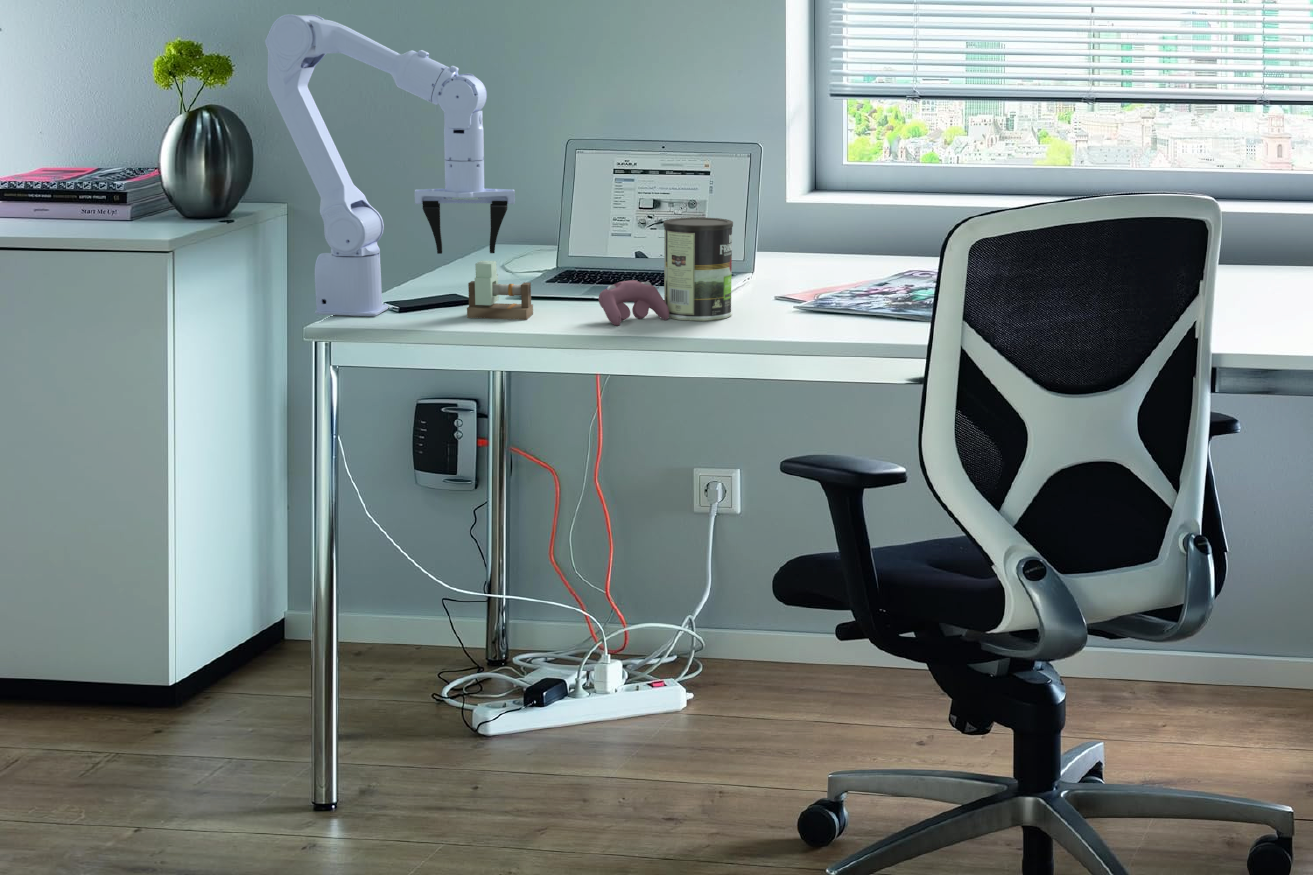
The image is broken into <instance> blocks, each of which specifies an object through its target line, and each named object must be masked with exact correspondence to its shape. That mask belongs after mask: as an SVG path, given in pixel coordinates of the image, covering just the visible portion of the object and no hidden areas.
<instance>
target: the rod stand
mask: <svg viewBox="0 0 1313 875" xmlns="http://www.w3.org/2000/svg"><path fill="white" fill-rule="evenodd" d="M467 285H468V307H466V318H467V319H487V320H489V319H491V320H492V319H493V320H521V321H522V320H523V321H524V320H526V321H527V320H528V319H529V318H530V317H532V316H533V315H534V304H533V303H532V283H531V282H527V281H526V282H523V283H522V284H514V283H508V284H507V283H506V284H502V283H498V284H492V291H493V295H498V296H509V297H514V296H520V297H521V298H520V299H521V303H497V302H495V303H494V304H492V305H475V280H471V281H470V282H468V284H467Z"/></svg>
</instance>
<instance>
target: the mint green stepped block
mask: <svg viewBox="0 0 1313 875" xmlns="http://www.w3.org/2000/svg"><path fill="white" fill-rule="evenodd" d="M474 267H475V276H474V281H475V305H492V304H494V303H497V302H498V301H499V295H493V291H492V284H499V274H498V273H497V261H496V260H479V261H478V262H476V263H475V266H474Z"/></svg>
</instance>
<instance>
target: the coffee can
mask: <svg viewBox="0 0 1313 875" xmlns="http://www.w3.org/2000/svg"><path fill="white" fill-rule="evenodd" d="M662 224H663V225H662V226H663V227H664V228H663V229H664V237H663V238H664V240H663V241H664V244H663V245H664V248H663V250H664V254H663V258H664V266H663V267H664V273H663V275H664V277H663V279H664V284H663V285H664V287H663V289H664V291H663V292H664V299H663V300H664V301H665V303H666V304H667V306H668V309H669V317H668V319H672V320H677V321H686V322H687V321H688V322H689V321H691V322H709V321H710V322H711V321H719V320H725V319H729V318H730V317H732V314H733V313H732V269H733V268H732V264H733V263H732V261H733V260H732V259H733V258H732V257H733V255H732V254H733V253H732V252H733V227H734V221H733V220H731V219H726V218H721V217H720V218H718V217H702V216H701V217H699V216H698V217H695V216H694V217H679V218H677V217H676V218H670V219H666V220H663V222H662Z"/></svg>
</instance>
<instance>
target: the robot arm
mask: <svg viewBox="0 0 1313 875" xmlns="http://www.w3.org/2000/svg"><path fill="white" fill-rule="evenodd" d="M264 44H265V46H266V50H267V79H266V80H267V86H268V90H269V92H270V94H271V97H272V98H273V100H274V103H275V105H276V106H277V109H278V111H279V114H280V116H281V117H282V120H283V122H284V123H285V126H286V128H287V130H288V132H289V134H290V136H291V138H292V141H293V142H294V145H295V147H296V148H297V151H298V153H299V155H300V157H301V159H302V162H303V164H304V166H305V168H306V170H307V173H308V174H309V177H310V178H311V180H312V183H313V184H314V187H315V190H316V191H317V193H318V195H319V198H320V204H319V214H320V216H321V218H322V222H323V226H324V230H323V231H324V232H323V233H324V238H325V241H326V244H328V246H329V247H330V252H321V253H319V254H318V255H317V258H316V260H315V265H314V285H315V286H314V287H315V291H314V292H315V305H316V306H315V307H316V310H315V311H314V314H315V315H323V316H324V315H325V316H327V315H328V316H331V315H332V316H355V317H357V316H359V317H364V316H365V317H376V316H378V315H380V314H381V313H383V312H385V311H387V310H388V305H387V304H388V303H383V295H382V294H383V293H382V292H383V290H382V273H381V272H382V269H381V267H382V266H381V249H380V247H379V245H378V242H379V241H380V239H381V238H382V237H383V234H384V230H385V224H384V220H383V217H382V215H381V213H380V212H379V211H378V210H376V209H375V208H374V207H373V206H372V205H371V204H370V202H369V201H368V200H367V197H366V195H365V194H364V193H363V192H362V190H360V189H359V188H358V187H357V186H356V185H355V184H354V183H353V180H352V178H351V176H350V174H349V172H348V170H347V168H346V166H345V163H344V160H343V159H342V157H341V155H340V153H339V151H338V148H337V146H336V144H335V141H334V140H333V138H332V136H331V134H330V131H329V130H328V127H327V125H326V123H325V121H324V119H323V117H322V115H321V113H320V110H319V108H318V106H317V104H316V102H315V100H314V97H313V95H312V93H311V91H310V89H309V86H308V85H309V83H310V80H311V77H312V75H313V72H314V70H315V68H316V66H317V65H318V64H319V63H320V62H321V60H323V58H324V57H325V56H326V55H327V54H342V55H344V56H347V57H349V58H352V59H354V60H357V61H359V62H361V63H364V64H366V65H367V66H370V67H373V68H375V69H378V70H379V71H382V72H385V73H386V74H390V76H391V77H392V80H393V81H394V84H395V85H396V87H397V88H399V89H401V90H403V91H405V92H407V93H409V94H412V95H413V96H416V97H417V98H419V99H421V100H424V101H426V102H428V103H430V104H433V105H435V106H438V105H439V107H440V109H441V110H442V112H443V117H444V118H443V120H444V127H443V136H444V137H443V146H444V188H425V189H424V188H423V189H420V188H419V189H414V205H422V211H423V213H424V215H425V218H426V219H427V221H428V223H429V226H430V229H431V231H432V234H433V237H434V241H435V246H436V253H437V254H438V255H439V254H443V239H442V233H441V232H442V231H441V204H490V206H489V207H490V209H489V210H490V212H489V214H490V231H489V233H490V234H489V254H495V252H496V244H497V238H498V235H499V231H500V228H501V225H502V222H503V220H504V218H505V216H506V213H507V210H508V205H515V204H516V202H515V201H516V196H515V194H516V192H515V189H509V188H508V189H507V188H506V189H505V188H504V189H503V188H485V148H484V147H485V146H484V145H485V144H484V143H485V142H484V138H485V137H484V136H485V135H484V133H485V132H484V123H483V120H484V118H483V114H484V113H483V109H484V107H485V105H486V103H487V99H488V92H487V88H486V86H485V84H484V83H483V82H482V80H481V79H479V78H477V77H476V76H475V75H474V74H473V73H461V74H459V70H460V69H459V67H457V66H455V65H451V66H450V67H449V66H447V65H445V64H443V63H441V62H439V61H437V60H434V59H432V58H431V57H430V53H429V52H428V51H425V50H424V49H421V50H420V49H419V50H418V52H417V51H415V50H414V49H412V50H408V51H406V52H405V53H399V52H397V51H396V50H393V49H391V48H389V47H387V46H385V45H383V44H381V43H380V42H378V41H375V40H374V39H372V38H370V37H368V36H366V35H364V34H362V33H361V32H358V31H356V30H354V29H353V28H350V27H348V26H347V25H344V24H342V23H339V22H337V21H335V20H329V19H325V18H323V17H321V16H319V15H317V14H311V13H310V14H305V15H299V14H297V15H296V14H291V13H290V14H289V13H287V14H283V15H281V16H279V17H278V18H277V19H276V20H275V21H273V23H272V25H271V27H270V29H269V32H268V34H267V36H266V38H265V40H264ZM453 198H458V199H453ZM473 198H474V199H473ZM476 198H477V199H476Z"/></svg>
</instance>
